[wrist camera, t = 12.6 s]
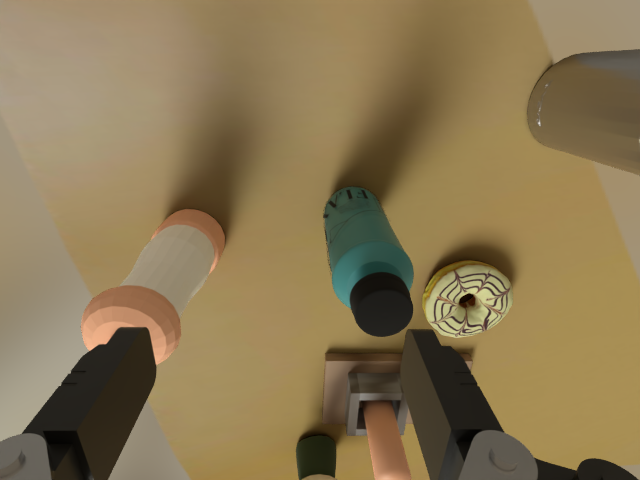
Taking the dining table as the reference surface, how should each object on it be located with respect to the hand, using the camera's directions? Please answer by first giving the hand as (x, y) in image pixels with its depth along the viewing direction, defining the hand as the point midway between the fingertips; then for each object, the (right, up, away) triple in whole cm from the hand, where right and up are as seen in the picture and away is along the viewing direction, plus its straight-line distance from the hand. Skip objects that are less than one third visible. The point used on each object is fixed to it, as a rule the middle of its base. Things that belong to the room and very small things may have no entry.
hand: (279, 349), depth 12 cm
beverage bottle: (+5, +7, +30) cm, 31 cm away
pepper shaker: (-13, +4, +31) cm, 34 cm away
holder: (+12, -18, +42) cm, 47 cm away
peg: (+9, -18, +40) cm, 45 cm away
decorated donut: (+19, -3, +36) cm, 41 cm away
